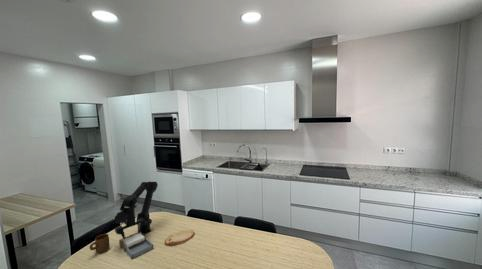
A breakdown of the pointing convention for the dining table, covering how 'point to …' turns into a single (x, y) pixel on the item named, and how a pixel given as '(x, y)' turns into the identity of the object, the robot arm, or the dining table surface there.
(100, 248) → the mug
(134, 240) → the tile
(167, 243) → the slice of bread
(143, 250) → the tray
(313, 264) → the dining table surface
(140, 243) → the board
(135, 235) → the tile
